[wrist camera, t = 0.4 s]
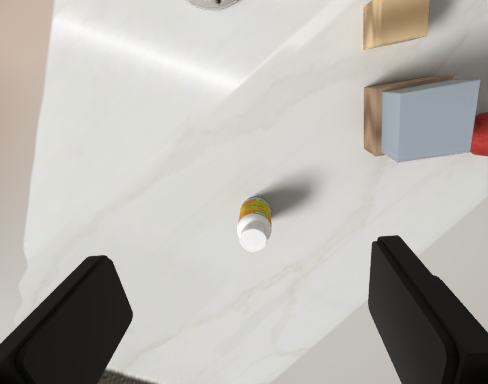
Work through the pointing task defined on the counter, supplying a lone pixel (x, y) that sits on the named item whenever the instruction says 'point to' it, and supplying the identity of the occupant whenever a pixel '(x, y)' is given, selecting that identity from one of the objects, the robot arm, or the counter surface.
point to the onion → (480, 135)
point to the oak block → (394, 21)
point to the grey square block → (429, 119)
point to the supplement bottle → (254, 224)
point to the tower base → (375, 109)
